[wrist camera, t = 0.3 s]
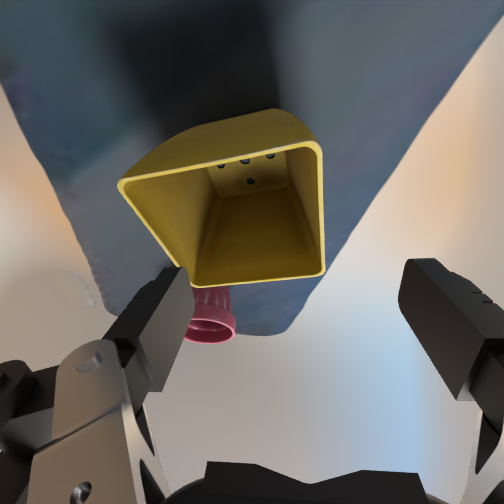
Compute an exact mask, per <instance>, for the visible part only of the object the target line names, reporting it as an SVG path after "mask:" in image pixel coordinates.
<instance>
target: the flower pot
mask: <svg viewBox="0 0 504 504" xmlns="http://www.w3.org/2000/svg"><path fill="white" fill-rule="evenodd" d="M271 153H275V156H274V158H272V159H269V158H267V157H266V154H271ZM247 158H250V162H249V163H248V164H243V163H241V161H240V160H243V159H247ZM223 163H225V166H224V167H223V168H218V167H217V165H218V164H223ZM248 178H253V179H254V180H255V183H254V184H252V185H250V184H248V183H247V179H248ZM117 187H118V190H119V191H120V193H121V194H122V195H123V197H124V198H125V199H126V201H127V202H128V203H129V204H130V206H131V207H132V208H133V210H134V211H135V212H136V214H137V215H138V216H139V217H140V219H141V220H142V221H143V223H144V224H145V225H146V227H147V228H148V229H149V231H150V232H151V233H152V235H153V236H154V237H155V238H156V240H157V241H158V242H159V244H160V245H161V246H162V248H163V249H164V250H165V252H166V253H167V254H168V256H169V257H170V258H171V260H172V261H173V262H174V264H175V265H176V266H177V267H185V268H186V269H187V272H188V276H189V280H190V284H191V286H193V287H196V288H205V287H215V286H225V285H235V284H246V283H255V282H266V281H276V280H286V279H296V278H306V277H316V276H319V275H322V274H323V273H324V272H325V249H324V218H323V175H322V149H321V147H320V145H319V143H318V141H317V139H316V138H315V136H314V135H313V133H312V132H311V131H310V130H309V129H308V127H307V126H306V125H305V124H304V123H303V122H302V121H301V120H299V119H298V118H297V117H296V116H294V115H293V114H291V113H289V112H287V111H284V110H281V109H276V108H272V109H268V110H263V111H259V112H255V113H250V114H246V115H242V116H237V117H233V118H229V119H224V120H220V121H215V122H211V123H207V124H202V125H198V126H195V127H192V128H190V129H188V130H185V131H183V132H181V133H179V134H177V135H175V136H173V137H172V138H170V139H168V140H167V141H165V142H164V143H162V144H160V145H159V146H157V147H156V148H155V149H153V150H152V151H151V152H149V153H148V154H147V155H146V156H144V157H143V158H142V159H141V160H140V161H138V162H137V163H136V164H135V165H134V166H133V167H132V168H131V169H129V170H128V171H127V172H126V173H125V174H124V175H123V176H122V177H121V179H120V180H119V181H118V183H117Z"/></svg>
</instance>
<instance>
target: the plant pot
mask: <svg viewBox="0 0 504 504" xmlns="http://www.w3.org/2000/svg"><path fill="white" fill-rule="evenodd" d="M192 291H193V295H194V300H195V310H194V314H193V317H192V319H191V322H190V324H189V326H188V329H187V331H186V334H185V336H184V339H185V340H188V341H192V342H196V343H203V344H218V343H223V342H226V341H229V340H230V339H232V338H233V336H234V335H235V326H236V319H235V317H234V315H233V314H232V310H231V302H230V295H229V288H228V285H225V286H215V287H205V288H196V287H192Z"/></svg>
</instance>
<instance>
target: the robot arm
mask: <svg viewBox="0 0 504 504" xmlns="http://www.w3.org/2000/svg"><path fill="white" fill-rule="evenodd" d="M398 303H399V308H400V310H401V312H402V314H403V315H404V317H405V319H406V321H407V322H408V324H409V325H410V327H411V329H412V330H413V332H414V333H415V335H416V337H417V338H418V340H419V342H420V343H421V345H422V346H423V348H424V350H425V351H426V353H427V354H428V356H429V357H430V359H431V361H432V363H433V364H434V366H435V367H436V369H437V370H438V372H439V374H440V375H441V377H442V378H443V380H444V382H445V384H446V385H447V387H448V388H449V390H450V392H451V393H452V395H453V396H454V398H455V399H456V401H476V402H477V404H478V405H479V407H480V408H481V410H480V411H479V413H478V416H477V421H476V428H475V435H474V441H473V448H472V455H471V462H470V468H469V475H468V481H467V485H466V488H465V491H464V494H463V496H462V499H461V502H460V504H504V310H503V309H502V308H500V307H499V306H498V305H497V304H495V303H493V301H492V300H491V299H490V298H489V297H488V296H487V295H485V294H482V291H481V290H480V289H479V288H478V287H476V286H475V285H474V284H473V283H472V282H471V281H469V280H468V279H466V278H463V277H462V276H460V275H458V274H456V273H454V272H450V271H448V270H447V269H446V268H445V267H444V266H443V265H442V264H441V263H440V262H439V261H438V260H436V259H435V258H422V259H421V258H420V259H408V260H407V262H406V263H405V267H404V271H403V276H402V280H401V285H400V290H399V295H398ZM194 310H195V300H194V295H193V291H192V287H191V284H190V280H189V276H188V272H187V269H186V268H185V267H165V268H163V270H162V271H161V272H160V274H159V275H158V277H157V278H156V279H155V280H154V281H150V282H149V283H147V284H146V285H145V286H143V287H142V288H141V289H140V290H139V291H138V292H137V294H136V295H135V296H134V297H133V300H132V301H130V303H129V304H128V305H127V307H126V309H124V310H123V312H122V313H121V314H120V316H119V317H118V318H117V320H116V321H115V322H114V323H113V325H112V326H111V327H110V329H109V330H108V331H107V333H106V334H105V335H104V336H103V338H102V339H101V340H95V341H91V342H88V343H86V344H84V345H82V346H80V347H79V348H77V349H75V350H74V351H72V352H71V353H70V354H69V355H68V356H67V357H66V358H65V359H64V360H63V361H62V362H61V364H60V365H57V366H54V367H50V368H46V369H42V370H38V371H35V372H32V371H31V370H30V368H29V367H28V366H27V365H26V363H25V362H23V361H21V360H12V361H8V362H4V363H1V364H0V449H1V450H2V451H1V452H0V504H448V503H446V502H444V501H442V500H440V499H438V498H436V497H434V496H432V495H430V494H427V493H425V491H424V488H423V486H422V483H421V480H420V478H419V475H418V473H406V472H388V471H387V472H386V471H370V470H360V471H357V472H353V473H350V474H346V475H343V476H339V477H336V478H332V479H328V480H325V481H321V482H318V483H313V484H307V483H303V482H301V481H298V480H295V479H293V478H290V477H288V476H285V475H283V474H280V473H277V472H275V471H272V470H270V469H267V468H264V467H262V466H260V465H256V464H248V463H230V462H212V461H207V466H206V471H205V476H204V478H202V479H198V480H196V481H194V482H192V483H189V484H187V485H185V486H183V487H182V488H180V489H179V490H177V491H175V492H174V493H172V494H171V493H170V489H169V486H168V483H167V480H166V478H165V476H164V473H163V470H162V467H161V465H160V461H159V457H158V454H157V449H156V446H155V442H154V438H153V434H152V430H151V426H150V422H149V419H148V415H147V411H146V407H145V404H144V402H143V401H144V399H145V397H146V395H147V393H148V392H162V390H163V387H164V385H165V382H166V380H167V377H168V375H169V373H170V370H171V368H172V365H173V363H174V361H175V358H176V356H177V353H178V351H179V348H180V346H181V343H182V341H183V339H184V336H185V334H186V331H187V329H188V326H189V324H190V322H191V319H192V317H193V314H194Z"/></svg>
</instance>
